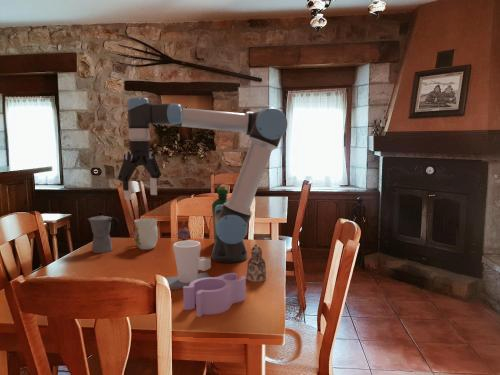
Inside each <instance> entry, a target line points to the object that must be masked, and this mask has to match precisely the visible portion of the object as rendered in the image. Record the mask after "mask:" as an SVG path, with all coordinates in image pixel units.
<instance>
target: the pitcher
mask: <svg viewBox="0 0 500 375" xmlns="http://www.w3.org/2000/svg"><path fill="white" fill-rule="evenodd" d="M133 222H134V225H135V227H134V230H133V235H134V236H133V237H134V241H135V244H136V245H137V247H138V248H139V250H152V249H154V248H155V246H156V245H157V242H158V240H159V228H158V226H157V225H158V219H157V218H155V217H144V218H138V219H134V221H133Z"/></svg>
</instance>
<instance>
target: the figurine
mask: <svg viewBox="0 0 500 375" xmlns="http://www.w3.org/2000/svg"><path fill="white" fill-rule="evenodd" d="M250 250H251V251H250V253H251V254H250V255H251V257H250V258H249V260H248V261H247V269H246V280H247V281H250V282H255V283H257V282H258V283H259V282H263V281H266V279H267V269H266V267H267V265H266V261H265V259H264V258H263V250H262V248H261V247H260V246H258V245H257V244H254V246H253V247H252V248H251V249H250Z"/></svg>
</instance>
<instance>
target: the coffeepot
mask: <svg viewBox="0 0 500 375" xmlns="http://www.w3.org/2000/svg"><path fill="white" fill-rule="evenodd" d="M87 220H88V222H89V223H90V227H91V232H92V234H93V238H92V245H91V252H92V253H95V254H104V253H110V252H112V251H113V244H112V240H111V236H115V235H116V234H117V231H118V228H119V225H120V224H119V223H120V221H119V220H118V218H117V217H113V216H112V217H111V216H105V215H103V211H98V216H92V217H88V218H87ZM113 222H114V226H113V230H112V231H113V232H111V233H110V231H111V224H112V223H113Z"/></svg>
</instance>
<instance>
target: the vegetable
mask: <svg viewBox="0 0 500 375" xmlns="http://www.w3.org/2000/svg"><path fill="white" fill-rule="evenodd" d="M190 234H191V231H190V229H188V228H187V227H185V221H183V222H182V223H181V228H180V229H178V231H177V237H178V239H180V240H181V241H185V240H187V239H188V238H189V237H190Z"/></svg>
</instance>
